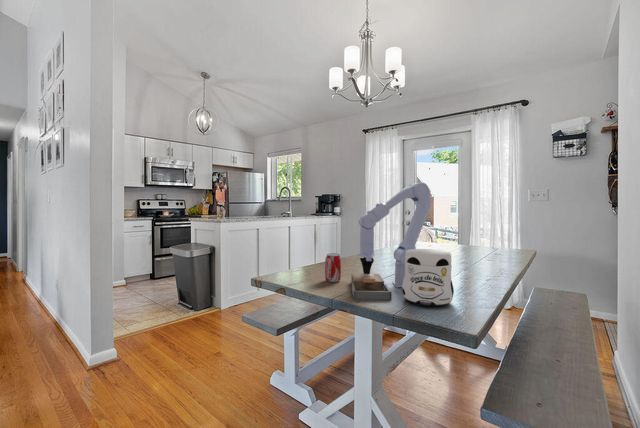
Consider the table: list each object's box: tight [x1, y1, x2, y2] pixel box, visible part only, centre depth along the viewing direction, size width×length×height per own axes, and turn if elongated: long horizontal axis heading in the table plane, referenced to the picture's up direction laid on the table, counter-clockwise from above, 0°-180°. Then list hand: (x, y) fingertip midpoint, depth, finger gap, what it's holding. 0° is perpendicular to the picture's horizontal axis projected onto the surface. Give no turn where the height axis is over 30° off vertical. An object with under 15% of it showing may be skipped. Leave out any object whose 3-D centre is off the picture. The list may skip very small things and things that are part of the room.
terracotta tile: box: [362, 276, 375, 283], centre depth 129 cm, size 4×4×2 cm
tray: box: [351, 283, 393, 301], centre depth 123 cm, size 14×11×3 cm
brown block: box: [350, 273, 385, 291], centre depth 135 cm, size 12×13×4 cm
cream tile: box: [361, 273, 374, 277], centre depth 133 cm, size 4×4×2 cm
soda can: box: [324, 252, 342, 283], centre depth 144 cm, size 7×7×12 cm
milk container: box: [401, 248, 454, 308], centre depth 115 cm, size 17×17×18 cm
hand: (366, 275), depth 136 cm, fingers closed
